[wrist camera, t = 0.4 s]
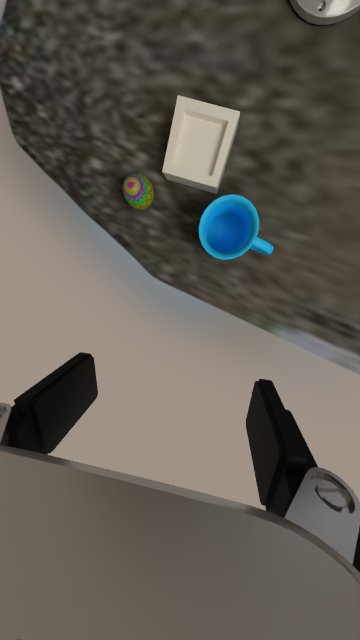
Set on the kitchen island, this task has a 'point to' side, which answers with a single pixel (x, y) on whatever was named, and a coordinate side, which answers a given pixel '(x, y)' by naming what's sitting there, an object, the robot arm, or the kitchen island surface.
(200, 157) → the square tray
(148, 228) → the kitchen island surface
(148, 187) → the egg
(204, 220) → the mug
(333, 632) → the robot arm
